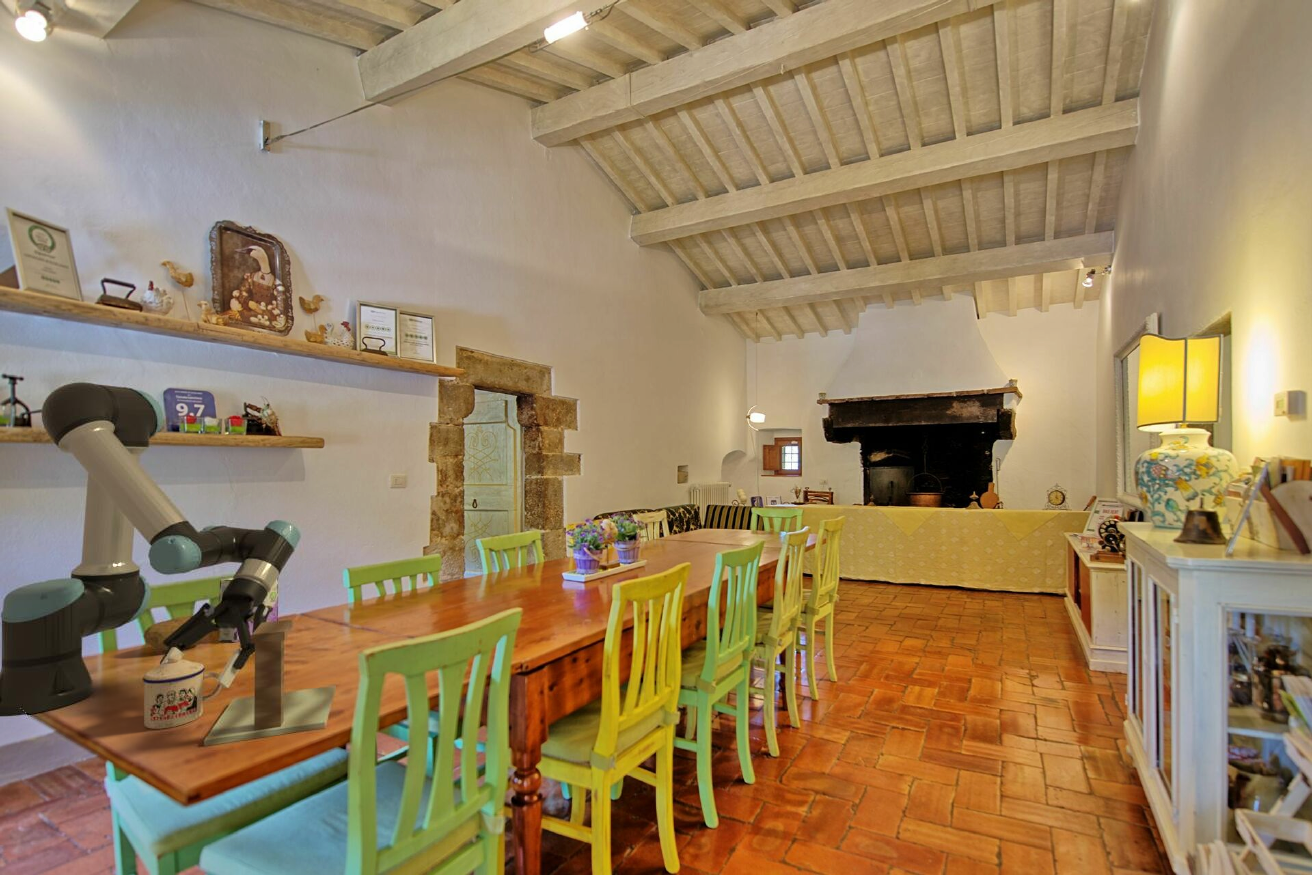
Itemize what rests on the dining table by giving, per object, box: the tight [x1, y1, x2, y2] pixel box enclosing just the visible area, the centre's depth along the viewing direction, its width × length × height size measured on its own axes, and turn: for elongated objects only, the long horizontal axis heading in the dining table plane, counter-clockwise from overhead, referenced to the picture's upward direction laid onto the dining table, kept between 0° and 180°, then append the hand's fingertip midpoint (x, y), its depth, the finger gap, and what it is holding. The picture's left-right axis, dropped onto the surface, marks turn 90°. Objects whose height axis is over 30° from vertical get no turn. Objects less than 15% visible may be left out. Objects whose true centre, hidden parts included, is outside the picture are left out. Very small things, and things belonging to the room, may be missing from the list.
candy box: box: [218, 577, 279, 643], centre depth 175 cm, size 14×6×16 cm, turn 165°
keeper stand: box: [203, 619, 337, 747], centre depth 119 cm, size 18×20×18 cm
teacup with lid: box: [142, 655, 223, 730], centre depth 119 cm, size 12×9×12 cm
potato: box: [143, 615, 210, 652], centre depth 162 cm, size 10×14×8 cm
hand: (189, 684), depth 119 cm, fingers open, 13 cm apart
